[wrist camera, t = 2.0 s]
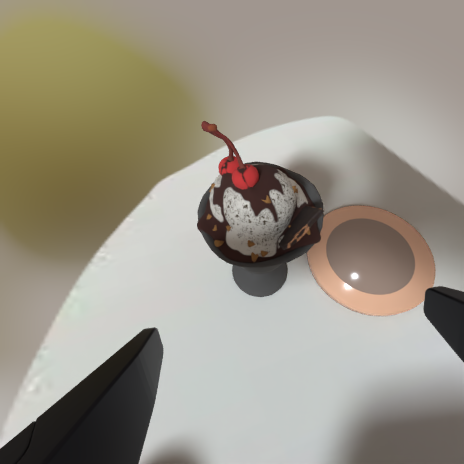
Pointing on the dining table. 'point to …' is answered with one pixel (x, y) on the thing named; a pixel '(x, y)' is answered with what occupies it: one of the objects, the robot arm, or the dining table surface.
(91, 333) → the dining table surface
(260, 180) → the sundae
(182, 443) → the dining table surface
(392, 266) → the saucer
